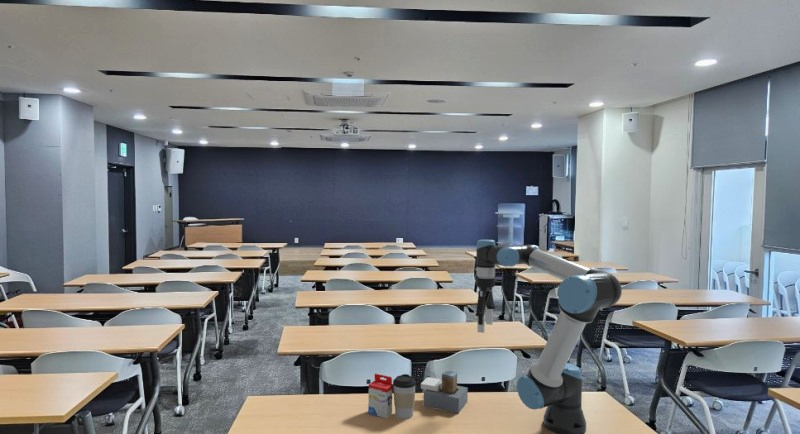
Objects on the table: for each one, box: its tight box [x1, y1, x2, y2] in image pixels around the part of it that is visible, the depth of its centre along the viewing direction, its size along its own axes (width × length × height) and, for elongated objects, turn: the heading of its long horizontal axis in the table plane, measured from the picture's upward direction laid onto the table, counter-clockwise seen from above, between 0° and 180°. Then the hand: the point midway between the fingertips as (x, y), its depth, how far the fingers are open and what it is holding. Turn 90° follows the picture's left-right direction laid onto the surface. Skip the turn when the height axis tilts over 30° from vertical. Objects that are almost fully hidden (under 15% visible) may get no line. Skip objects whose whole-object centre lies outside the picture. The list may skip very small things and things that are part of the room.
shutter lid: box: [420, 376, 442, 392], centre depth 193 cm, size 7×8×2 cm
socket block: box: [423, 385, 469, 414], centre depth 191 cm, size 15×12×6 cm
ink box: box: [367, 373, 394, 419], centre depth 182 cm, size 8×5×15 cm, turn 62°
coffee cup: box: [392, 373, 417, 420], centre depth 181 cm, size 9×9×15 cm
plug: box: [441, 370, 458, 394], centre depth 190 cm, size 5×5×12 cm
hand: (485, 328), depth 191 cm, fingers open, 13 cm apart
